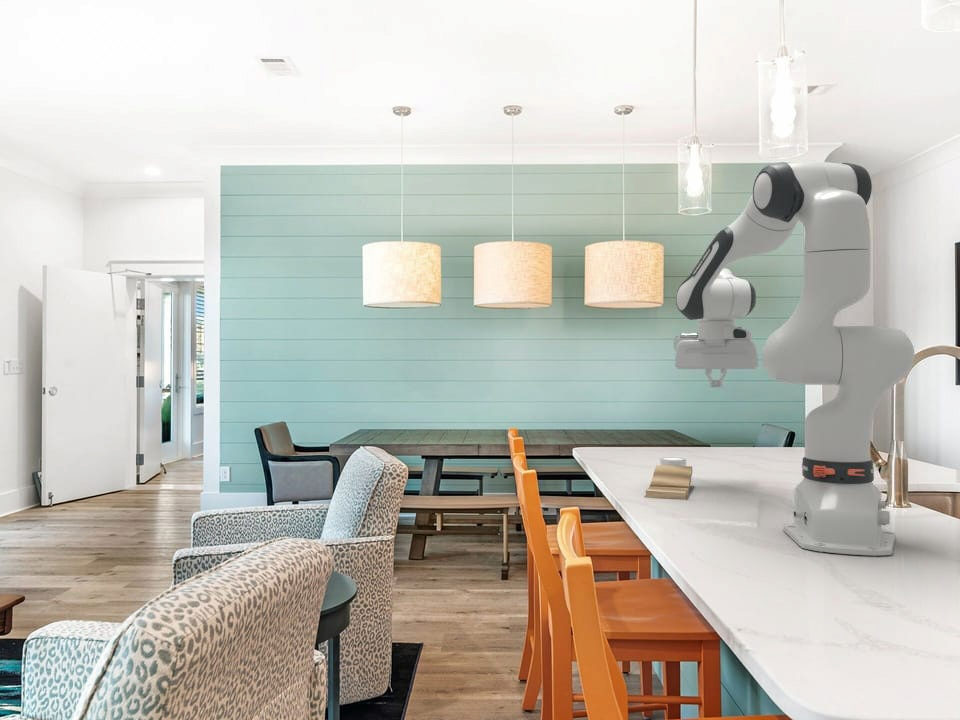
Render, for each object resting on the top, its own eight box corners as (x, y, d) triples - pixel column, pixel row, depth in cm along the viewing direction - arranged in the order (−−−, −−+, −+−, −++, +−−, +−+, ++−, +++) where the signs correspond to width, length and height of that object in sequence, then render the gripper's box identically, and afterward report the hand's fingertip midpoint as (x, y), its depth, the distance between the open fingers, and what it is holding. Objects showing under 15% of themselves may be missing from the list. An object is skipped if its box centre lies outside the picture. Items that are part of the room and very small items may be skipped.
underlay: (687, 504, 167) (687, 499, 167) (643, 501, 170) (643, 497, 170) (694, 489, 185) (694, 485, 185) (655, 487, 189) (655, 483, 189)
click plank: (688, 493, 174) (688, 486, 173) (650, 491, 177) (649, 485, 177) (692, 471, 185) (692, 465, 184) (656, 470, 188) (655, 464, 187)
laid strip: (685, 499, 167) (685, 491, 167) (645, 497, 170) (645, 489, 170) (688, 494, 173) (688, 487, 173) (650, 492, 177) (649, 485, 177)
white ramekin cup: (658, 482, 197) (658, 456, 197) (684, 483, 196) (684, 457, 196) (661, 486, 190) (661, 460, 190) (688, 487, 189) (688, 460, 189)
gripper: (672, 333, 186) (672, 387, 186) (757, 331, 178) (758, 387, 178) (675, 334, 192) (675, 386, 192) (758, 332, 184) (758, 386, 184)
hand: (716, 387), depth 185 cm, fingers closed
